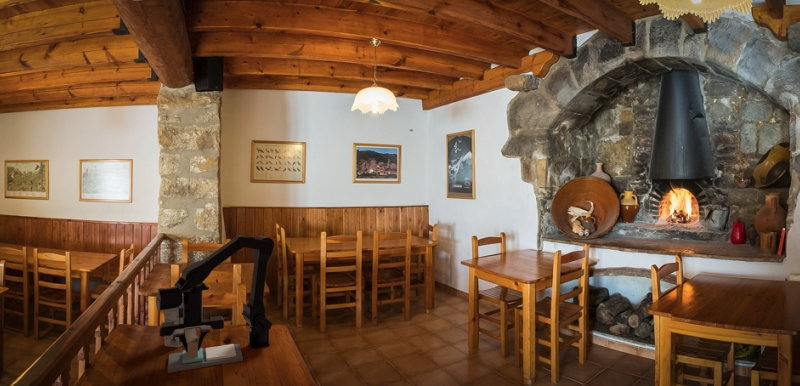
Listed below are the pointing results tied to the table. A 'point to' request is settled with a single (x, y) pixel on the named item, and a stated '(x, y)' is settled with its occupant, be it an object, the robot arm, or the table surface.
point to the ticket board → (207, 358)
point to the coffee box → (172, 316)
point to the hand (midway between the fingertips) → (192, 351)
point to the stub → (192, 351)
